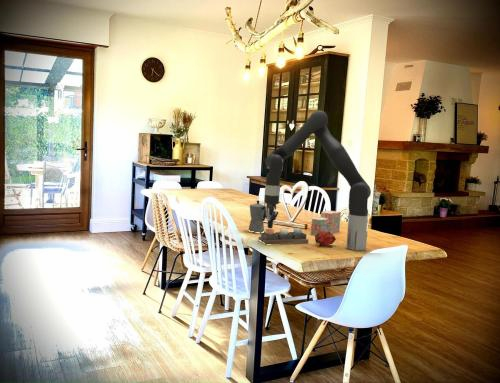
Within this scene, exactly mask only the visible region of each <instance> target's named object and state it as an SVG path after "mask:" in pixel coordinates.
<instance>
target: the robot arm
mask: <svg viewBox="0 0 500 383" xmlns="http://www.w3.org/2000/svg"><path fill="white" fill-rule="evenodd" d="M328 120H329V117H328V115H327V113H326V112H325V111H323V110H320V109H319V110H315V111H314V112H312V113H311V114H310V116H309V118H308V119H307V120H306V121H305V122H304V124H303V125H302V126H301V127H300V128H299V129H298V130H297V131H296V132H294V133H293V134H292V135H291V136H290V137H289V138H287V140H286V141H284V142H283V143H282V144H281V145H280V146H279V147H278V148H276V149H275V150H273V151H272V152H271V153H269V154H268V155H266V156H267V157H266V158H265V161H264V162H265V165H266V166H267V167H268V168H269V172H268V173H267V174H266V178H265V188H264V201H263V203H264V204H266V205H265V206H266V208H264V211H265V216H266V217H265V220H267V227H266V228H267V229H273V226H274V225H273V224H274V221H276V219H277V217H278V215H279V211H277V205H279V204H280V194H281V187H280V186H281V175H282V172H283V168H284V160H285V159H287V158H290V157H291V156H292V155H293V154H294V153H295V152H296V151H298V150H299V149H300V147H302V145H303V144H304V143H305V142H306V141H307V140H308V138H309V137H310V136H312V135H314V137H315V138H316V139H317V140H318V142H319V143H320V145H321V147H322V148H323V150H324V152H325V154H326V155H327V158H328V159H329V161H330V162H331V164H332V165H333V167H334V169H336V170H337V171H338V173H339V174H340V175H341V176H342V177H343V178H344V179H345V181H346V182H347V184H348V186H349V187H350V189H349V191H348V192H349V193H348V194H349V195H348V221H347V233H346V246H345V248H346V249H349V250H352V251H366V250H367V242H368V241H367V240H368V231H367V229H368V217H369V209H368V203H369V201H368V200H369V198H370V196H371V195H372V194H371V193H372V190H371V187H370V185H369V184H368V183H367V182H366V181H365V179H364V178H363V177H362V175H361V174H360V172H359V171H358V169H357V168H356V165H355V164H354V162H353V160H352V159H351V156H350V154H349V153H348V151H347V149H346V148H345V147H344V145H342V144H341V143H340V142H339V141H338V140H337V139H336V138H335V137H334V136H333V135H332V134H331V132H330V130H329V128H328V126H327V124H328Z"/></svg>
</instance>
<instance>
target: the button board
mask: <svg viewBox="0 0 500 383" xmlns="http://www.w3.org/2000/svg"><path fill="white" fill-rule="evenodd" d="M293 232H294V231H288V234H287V235H281V234H280V231H277V232H276V231H274V235H266V234H265V231H264V233H260V236H258V240H261V241H262V242H264V243H265V244H280V245H306V244H309V239H307V234H306V233H304V232H302V234H294V233H293ZM262 242H261V243H262ZM264 243H263V244H264ZM265 244H264V245H265Z"/></svg>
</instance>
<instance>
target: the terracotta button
mask: <svg viewBox="0 0 500 383" xmlns="http://www.w3.org/2000/svg"><path fill="white" fill-rule="evenodd" d="M264 232H265V234H266V235H274V233H275V229H273V228H266V229H265V230H264Z"/></svg>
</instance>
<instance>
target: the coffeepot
mask: <svg viewBox="0 0 500 383" xmlns="http://www.w3.org/2000/svg"><path fill="white" fill-rule="evenodd" d="M264 208H266V205H264V204H261V203H260V200H258V199H257V200H256V203H253V204H249V214H250V221H249V226H248V230H250V231H254V232H263V231H264V232H265V225H264V222H265V220H266V216H265V211H264Z"/></svg>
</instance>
